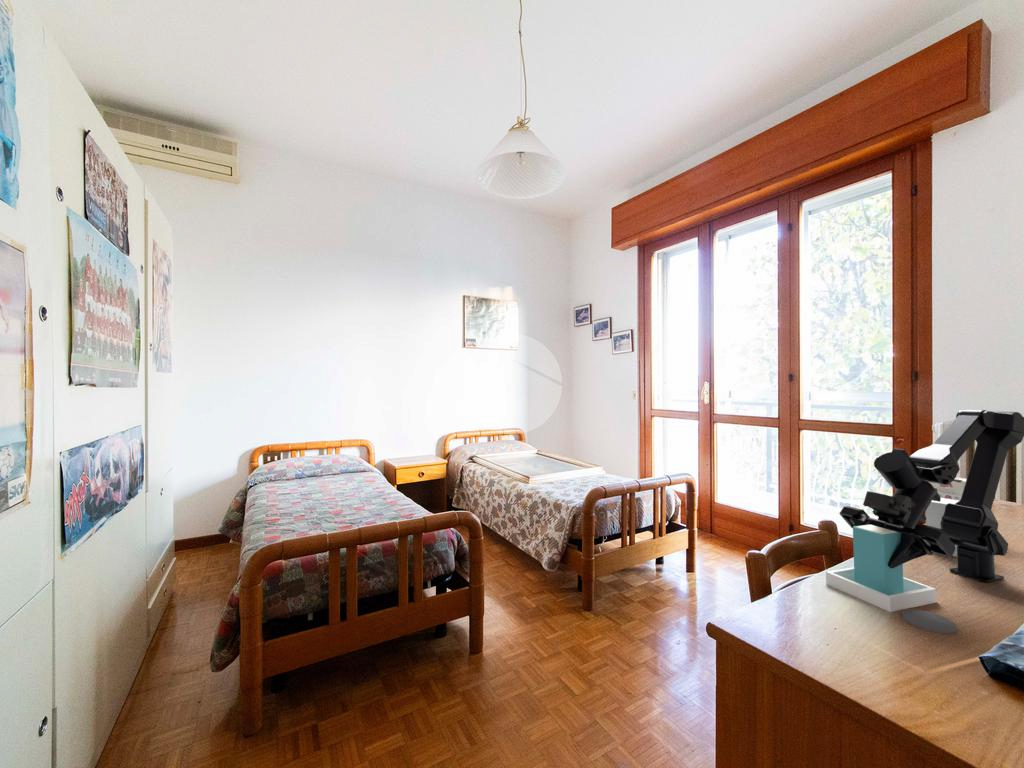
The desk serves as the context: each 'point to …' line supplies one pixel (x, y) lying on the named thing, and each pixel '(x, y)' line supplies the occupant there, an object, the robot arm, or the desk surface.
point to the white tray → (910, 598)
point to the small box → (938, 514)
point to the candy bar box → (951, 489)
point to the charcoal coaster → (929, 621)
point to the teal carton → (877, 559)
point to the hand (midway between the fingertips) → (872, 560)
